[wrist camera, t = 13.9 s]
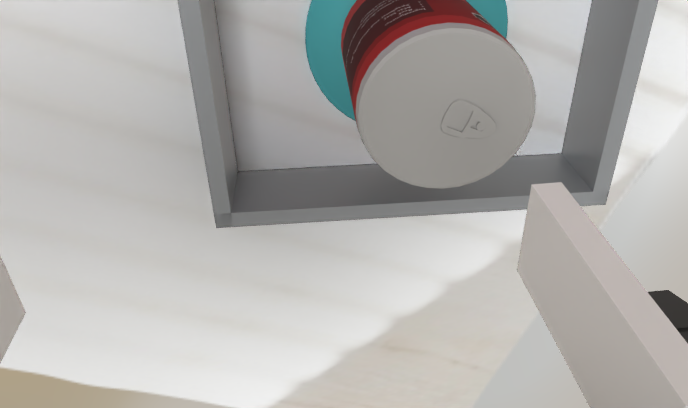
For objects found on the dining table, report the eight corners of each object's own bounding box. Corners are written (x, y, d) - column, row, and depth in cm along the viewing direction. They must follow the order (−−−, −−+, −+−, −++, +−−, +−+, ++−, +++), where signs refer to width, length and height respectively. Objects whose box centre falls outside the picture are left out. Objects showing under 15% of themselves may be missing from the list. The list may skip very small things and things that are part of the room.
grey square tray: (224, 185, 40) (216, 227, 35) (174, -142, 29) (154, -137, 25) (573, 165, 41) (605, 204, 37) (641, -156, 31) (697, -153, 26)
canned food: (459, 103, 37) (514, 194, 28) (333, 95, 36) (348, 187, 27) (486, -24, 33) (560, 34, 24) (345, -36, 32) (366, 19, 23)
